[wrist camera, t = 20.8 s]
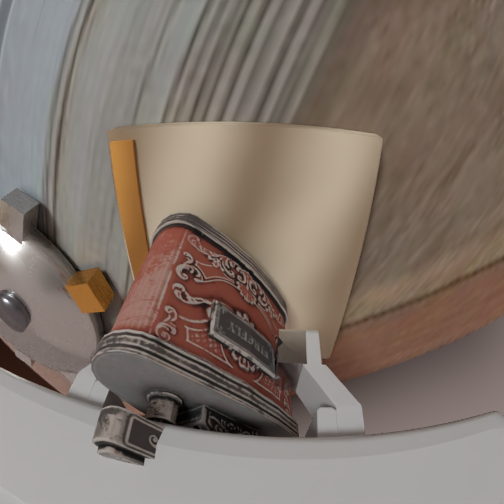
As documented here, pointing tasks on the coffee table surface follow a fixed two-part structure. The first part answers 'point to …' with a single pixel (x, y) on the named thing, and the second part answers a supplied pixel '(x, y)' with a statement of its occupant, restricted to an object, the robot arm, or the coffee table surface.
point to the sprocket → (46, 294)
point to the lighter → (192, 345)
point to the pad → (258, 201)
